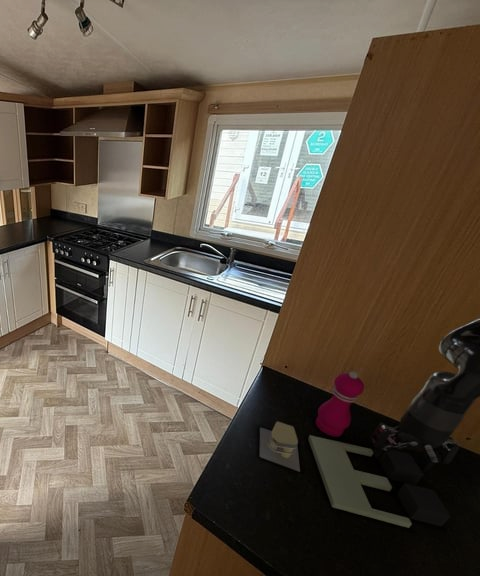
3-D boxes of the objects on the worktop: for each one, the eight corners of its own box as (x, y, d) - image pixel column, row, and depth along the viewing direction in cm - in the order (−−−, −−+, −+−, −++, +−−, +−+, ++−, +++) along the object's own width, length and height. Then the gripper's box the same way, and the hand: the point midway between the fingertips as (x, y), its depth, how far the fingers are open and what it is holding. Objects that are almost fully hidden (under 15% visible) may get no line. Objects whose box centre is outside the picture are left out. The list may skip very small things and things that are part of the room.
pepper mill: (309, 426, 88) (334, 371, 79) (317, 412, 92) (341, 359, 83) (340, 443, 83) (370, 386, 74) (347, 428, 87) (375, 372, 78)
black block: (425, 500, 70) (434, 490, 68) (441, 526, 65) (451, 516, 64) (396, 493, 71) (404, 482, 70) (410, 518, 67) (418, 507, 65)
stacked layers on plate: (260, 427, 87) (264, 413, 85) (296, 439, 84) (302, 425, 81) (259, 457, 79) (264, 442, 77) (300, 472, 76) (306, 457, 73)
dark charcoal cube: (403, 464, 78) (410, 453, 76) (416, 485, 73) (424, 474, 71) (377, 458, 79) (384, 448, 77) (388, 478, 74) (395, 468, 73)
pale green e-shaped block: (369, 452, 80) (371, 448, 80) (408, 528, 65) (412, 524, 64) (307, 438, 84) (309, 435, 83) (331, 507, 69) (334, 503, 68)
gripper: (460, 411, 69) (425, 457, 77) (384, 395, 73) (357, 442, 80) (487, 439, 63) (445, 487, 70) (401, 421, 67) (370, 468, 74)
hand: (398, 463), depth 75 cm, fingers open, 8 cm apart
